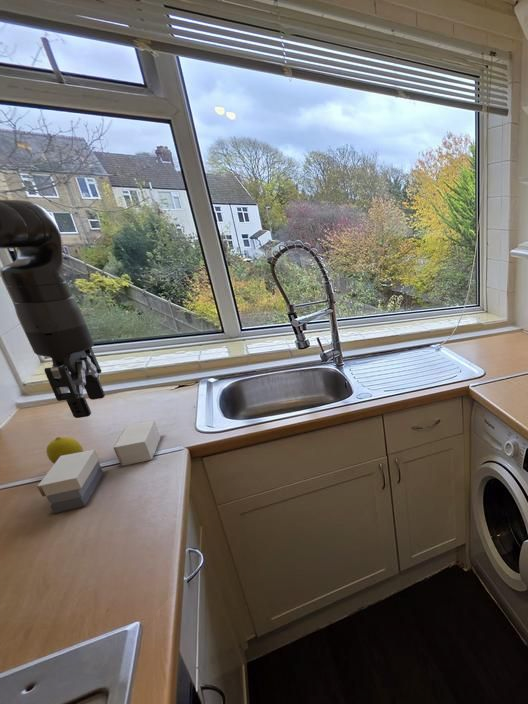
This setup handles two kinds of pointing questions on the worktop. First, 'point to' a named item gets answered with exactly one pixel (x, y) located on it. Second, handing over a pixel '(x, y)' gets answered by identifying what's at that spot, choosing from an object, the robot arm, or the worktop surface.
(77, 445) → the lemon
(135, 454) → the white block
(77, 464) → the cream flat slab
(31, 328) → the robot arm
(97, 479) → the gray block
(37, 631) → the worktop surface
